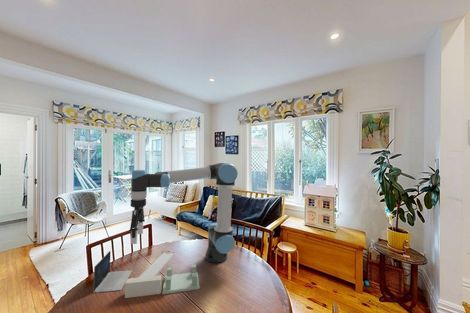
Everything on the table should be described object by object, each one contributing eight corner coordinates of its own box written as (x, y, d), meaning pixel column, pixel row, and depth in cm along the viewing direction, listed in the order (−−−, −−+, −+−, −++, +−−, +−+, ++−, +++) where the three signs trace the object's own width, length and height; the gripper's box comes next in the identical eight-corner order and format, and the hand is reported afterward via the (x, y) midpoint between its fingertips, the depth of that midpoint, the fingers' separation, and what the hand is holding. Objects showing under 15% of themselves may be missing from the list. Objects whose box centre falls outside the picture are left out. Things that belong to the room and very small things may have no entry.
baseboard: (134, 280, 110) (151, 281, 109) (134, 274, 110) (151, 276, 109) (160, 254, 140) (174, 255, 139) (161, 250, 140) (174, 251, 139)
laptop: (120, 291, 100) (121, 265, 100) (92, 293, 98) (93, 267, 98) (132, 271, 118) (132, 249, 118) (109, 273, 115) (109, 250, 116)
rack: (197, 273, 116) (197, 263, 116) (199, 288, 103) (199, 276, 103) (164, 277, 111) (165, 266, 112) (162, 294, 98) (162, 281, 98)
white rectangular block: (161, 288, 102) (161, 275, 102) (160, 294, 98) (160, 279, 98) (127, 292, 99) (127, 278, 99) (124, 298, 95) (125, 283, 95)
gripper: (136, 194, 119) (135, 230, 118) (123, 203, 94) (121, 249, 94) (150, 194, 120) (149, 230, 120) (140, 203, 96) (139, 248, 96)
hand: (137, 238), depth 107 cm, fingers open, 13 cm apart
